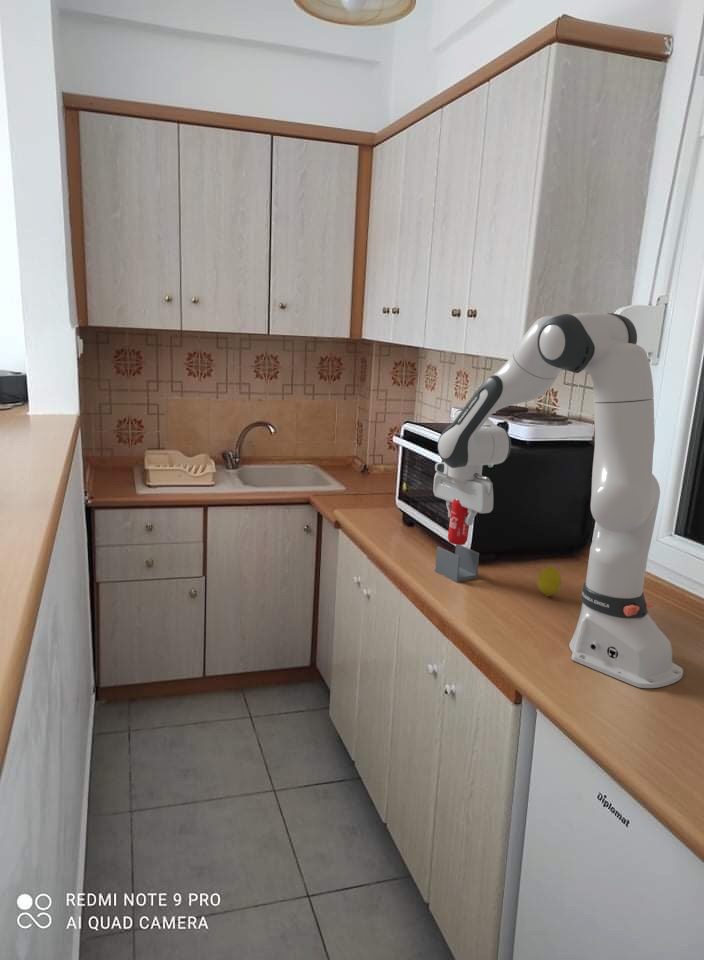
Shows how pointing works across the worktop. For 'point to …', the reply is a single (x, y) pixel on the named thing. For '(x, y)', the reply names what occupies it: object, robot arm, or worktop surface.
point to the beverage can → (458, 524)
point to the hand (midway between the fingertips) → (460, 521)
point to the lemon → (549, 581)
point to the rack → (457, 563)
